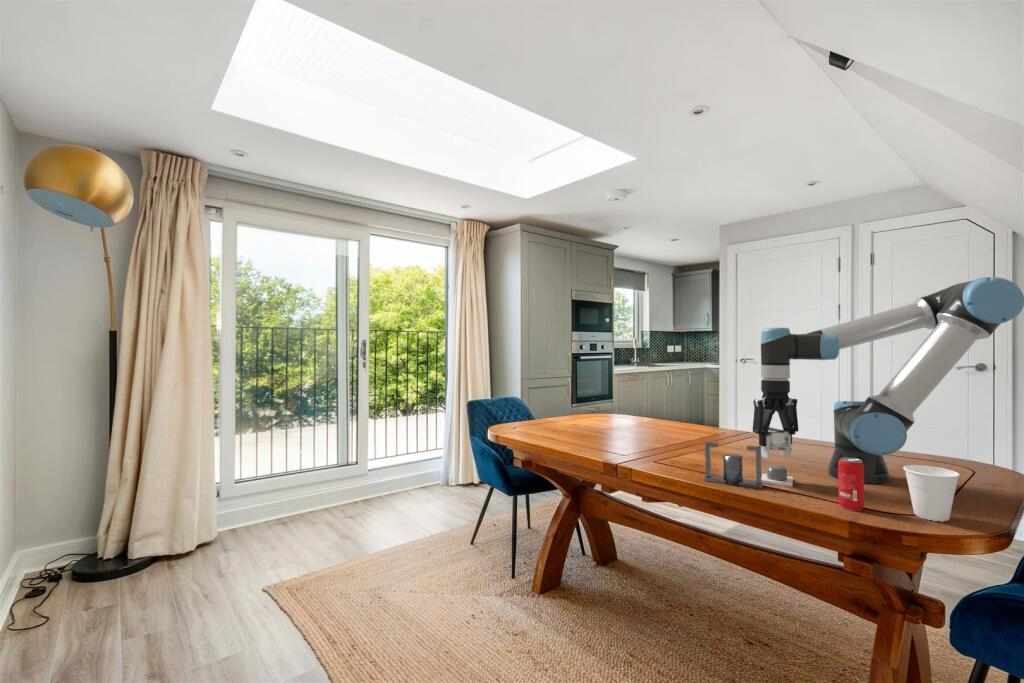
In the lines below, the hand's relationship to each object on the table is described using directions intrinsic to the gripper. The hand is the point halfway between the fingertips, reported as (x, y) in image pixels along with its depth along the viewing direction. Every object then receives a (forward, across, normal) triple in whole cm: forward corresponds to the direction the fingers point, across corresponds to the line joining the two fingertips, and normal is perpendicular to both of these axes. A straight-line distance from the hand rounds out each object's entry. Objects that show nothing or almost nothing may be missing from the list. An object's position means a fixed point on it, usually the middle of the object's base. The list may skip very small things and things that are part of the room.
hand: (775, 456), depth 139 cm
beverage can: (+8, -1, +24) cm, 25 cm away
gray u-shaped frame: (+8, +13, -2) cm, 15 cm away
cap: (-2, 0, 0) cm, 2 cm away
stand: (+7, 0, 0) cm, 7 cm away
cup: (+7, -12, +34) cm, 36 cm away
